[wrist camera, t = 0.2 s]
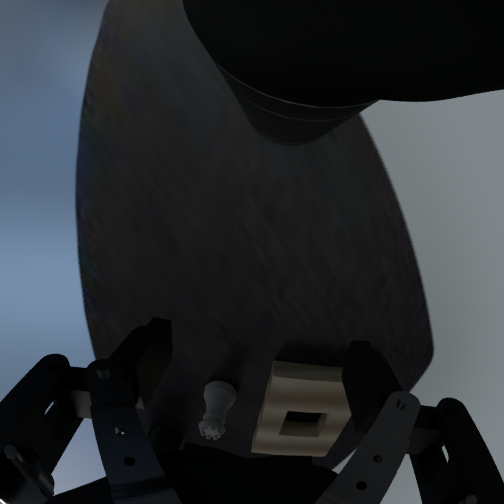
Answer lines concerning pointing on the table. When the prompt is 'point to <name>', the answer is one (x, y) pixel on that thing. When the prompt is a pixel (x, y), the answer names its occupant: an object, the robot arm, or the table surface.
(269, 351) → the table surface
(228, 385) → the rook chess piece
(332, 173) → the table surface
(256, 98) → the robot arm
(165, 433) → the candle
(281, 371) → the socket board
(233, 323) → the table surface
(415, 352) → the table surface
